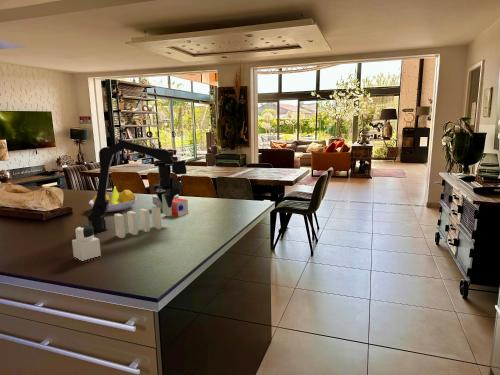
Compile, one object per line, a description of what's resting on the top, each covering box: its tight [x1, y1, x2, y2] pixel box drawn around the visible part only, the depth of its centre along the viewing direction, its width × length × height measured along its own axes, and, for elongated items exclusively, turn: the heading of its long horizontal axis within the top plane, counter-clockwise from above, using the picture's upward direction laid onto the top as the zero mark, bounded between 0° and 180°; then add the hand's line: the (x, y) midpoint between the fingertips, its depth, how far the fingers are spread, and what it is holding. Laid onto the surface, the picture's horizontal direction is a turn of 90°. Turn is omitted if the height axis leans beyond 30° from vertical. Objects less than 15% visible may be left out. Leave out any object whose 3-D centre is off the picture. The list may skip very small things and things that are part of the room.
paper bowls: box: [152, 193, 180, 211], centre depth 203 cm, size 15×15×8 cm
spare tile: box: [162, 194, 172, 217], centre depth 167 cm, size 2×5×10 cm, turn 44°
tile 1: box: [113, 213, 126, 239], centre depth 152 cm, size 2×5×10 cm, turn 44°
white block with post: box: [71, 224, 102, 262], centre depth 128 cm, size 7×7×12 cm
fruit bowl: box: [88, 185, 137, 213], centre depth 203 cm, size 28×27×11 cm
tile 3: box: [139, 208, 151, 233], centre depth 160 cm, size 2×5×10 cm, turn 44°
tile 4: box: [150, 205, 163, 230], centre depth 164 cm, size 2×5×10 cm, turn 44°
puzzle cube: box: [170, 198, 189, 218], centre depth 188 cm, size 8×8×8 cm
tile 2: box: [126, 210, 139, 236], centre depth 156 cm, size 2×5×10 cm, turn 44°
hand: (166, 206), depth 167 cm, fingers closed on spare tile, 5 cm apart
